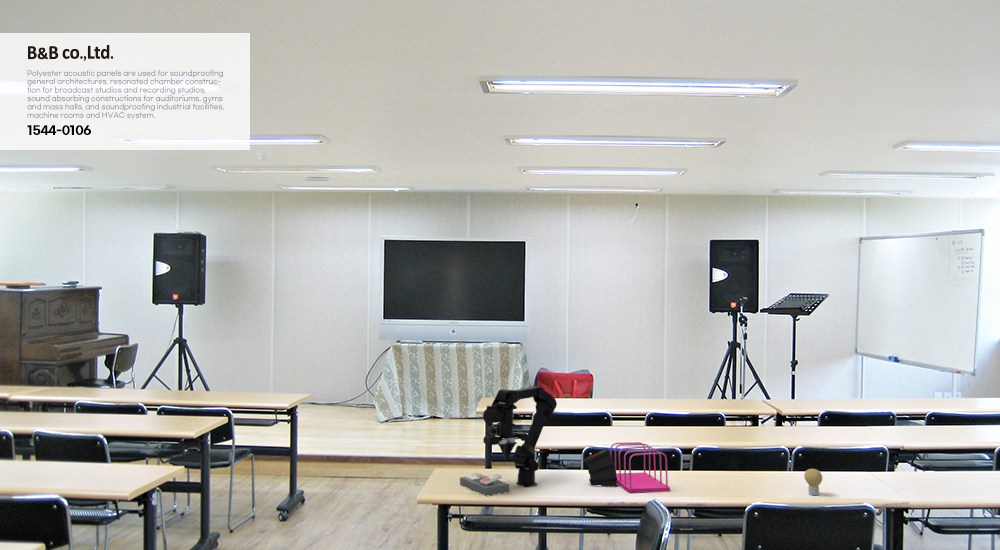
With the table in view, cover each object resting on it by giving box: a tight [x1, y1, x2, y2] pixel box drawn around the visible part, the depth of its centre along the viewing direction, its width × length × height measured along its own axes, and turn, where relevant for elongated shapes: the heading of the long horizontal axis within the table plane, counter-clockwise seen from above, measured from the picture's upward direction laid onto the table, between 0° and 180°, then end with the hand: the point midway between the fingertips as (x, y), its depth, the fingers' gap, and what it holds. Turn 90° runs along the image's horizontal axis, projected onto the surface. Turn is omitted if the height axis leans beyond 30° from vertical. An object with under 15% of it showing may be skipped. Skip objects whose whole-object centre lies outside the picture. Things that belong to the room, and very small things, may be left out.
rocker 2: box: [480, 473, 503, 485], centre depth 250 cm, size 8×4×1 cm, turn 125°
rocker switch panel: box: [459, 475, 510, 497], centre depth 254 cm, size 11×20×4 cm, turn 34°
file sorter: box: [609, 441, 671, 494], centre depth 261 cm, size 17×25×16 cm
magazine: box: [583, 448, 618, 487], centre depth 259 cm, size 4×13×15 cm, turn 85°
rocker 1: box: [471, 472, 492, 478], centre depth 255 cm, size 8×4×1 cm, turn 123°
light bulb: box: [804, 468, 823, 496], centre depth 246 cm, size 6×6×10 cm
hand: (505, 459), depth 252 cm, fingers closed
